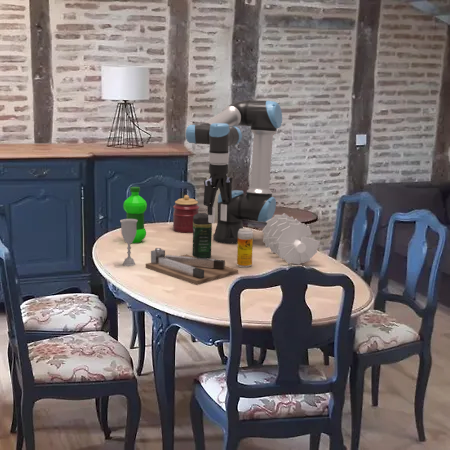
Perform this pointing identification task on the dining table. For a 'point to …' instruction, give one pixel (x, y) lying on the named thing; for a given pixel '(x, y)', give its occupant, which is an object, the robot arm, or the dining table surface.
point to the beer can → (244, 247)
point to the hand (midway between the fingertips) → (217, 221)
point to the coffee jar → (201, 236)
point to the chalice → (128, 237)
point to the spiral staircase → (289, 239)
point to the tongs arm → (198, 261)
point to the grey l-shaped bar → (174, 264)
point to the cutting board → (209, 275)
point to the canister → (184, 214)
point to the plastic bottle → (136, 212)
